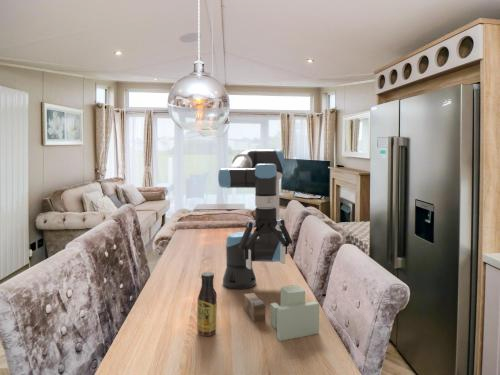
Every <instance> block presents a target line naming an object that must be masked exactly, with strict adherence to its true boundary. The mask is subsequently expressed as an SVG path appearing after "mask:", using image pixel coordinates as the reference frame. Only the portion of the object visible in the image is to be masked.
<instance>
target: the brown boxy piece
mask: <svg viewBox="0 0 500 375" xmlns="http://www.w3.org/2000/svg"><path fill="white" fill-rule="evenodd" d="M243 310H244V311H245V313H246V314H247V315H248V317H249V318H250V319H251V321H252V322H253V323H254V324H256V323H263V322H266V304H265V303H264V301H263V300H261V299H260V298H259V297H258V295H257V294H256V293H255V292H251V293H250V292H249V293H244V294H243Z"/></svg>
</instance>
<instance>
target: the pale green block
mask: <svg viewBox="0 0 500 375" xmlns="http://www.w3.org/2000/svg"><path fill="white" fill-rule="evenodd" d="M269 305H270V309H269V310H270V316H269V317H270V325H271V326H272V327H273V328H274V329H276V339H277V340H278V341H279V342H281V341H282V342H283V341H286V340H292V339H296V338H297V339H298V338H302V337H306V336H313V335H317V334H319V333H320V303H319V302H318V301H317V300H316V301H310V302H309V301H308V302H306V290H305V289H304V288H302V287H301V286H299V285H298V284H293V285H285V286H280V305H279V304H278V303H277V302H272V303H270V304H269Z"/></svg>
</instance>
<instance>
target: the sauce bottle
mask: <svg viewBox="0 0 500 375" xmlns="http://www.w3.org/2000/svg"><path fill="white" fill-rule="evenodd" d="M200 278H201V287H200V291H199V292H198V293H199V294H198V296H197V308H196V309H197V312H196V315H197V316H196V322H197V323H196V326H197V327H196V328H197V333H198V334H199V336H202V337H209V336H213V335H214V334H215V333H216V331H217V306H218V301H217V299H218V298H217V295H218V294H217V292H216V289H215V288H214V279H215V273H214V272H212V271H204V272H202V273H201V277H200Z"/></svg>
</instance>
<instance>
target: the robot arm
mask: <svg viewBox="0 0 500 375" xmlns="http://www.w3.org/2000/svg"><path fill="white" fill-rule="evenodd" d="M285 173H286V161H285V154H284V151H283V150H282V149H280V148H279V149H277V148H276V149H275V148H270V149H269V148H268V149H266V148H265V149H264V148H263V149H262V148H261V149H259V148H257V149H254V148H252V149H247V150H244V151H242V152H239V153H238V154H236V155H235V156H234V157H233V159H232V162H231V165H230V166H229V167H224V168H219V171H218V177H217V178H218V180H217V181H218V186H219V187H220V188H224V189H225V188H226V189H232V188H233V189H234V188H235V189H239V188H241V189H244V188H247V189H248V188H249V189H250V188H251V189H254V190H255V193H254V195H255V196H254V197H255V199H254V201H255V202H254V203H255V204H254V205H255V212H254V214H255V215H254V216H255V221H247V222H246V227H245V230H244V231H243V230H242V231H238V232H233V233H230V234H229V235H228V236H227V237H226V244H225V247H226V248H225V249H226V268H225V270H224V273H223V278H222V285H223V286H224V287H225V288H228V289H233V290H243V289H244V290H245V289H250V288H253V287H254V286H256V284H257V277H256V273H255V271H254V268H253V262H267V263H269V262H270V263H275V262H276V263H278V262H280V263H281V264H283V265H286V255H287V254H288V247H289V246H290V245H291V244H293V240H292V238H291V235H290V233H289V231H288V229H287V227H286V225H285V224H286V223H285V222H286V221H285V220H284V219H283V218H280V180H281V179H282V178H283V175H284V174H285ZM254 227H255V229H254ZM253 229H254V231H252V230H253ZM252 232H253V233H252Z"/></svg>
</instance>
